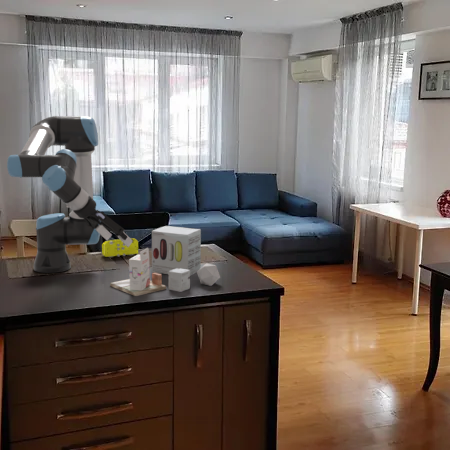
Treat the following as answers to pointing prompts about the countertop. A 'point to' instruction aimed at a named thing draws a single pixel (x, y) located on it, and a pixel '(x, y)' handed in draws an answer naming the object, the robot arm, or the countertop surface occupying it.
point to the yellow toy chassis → (119, 248)
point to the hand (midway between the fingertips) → (119, 240)
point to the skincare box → (179, 279)
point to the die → (208, 274)
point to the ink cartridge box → (139, 271)
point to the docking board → (153, 287)
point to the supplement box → (176, 249)
